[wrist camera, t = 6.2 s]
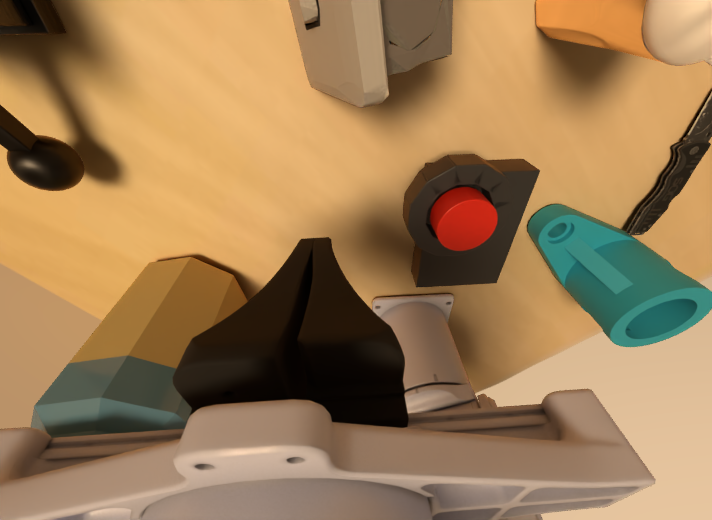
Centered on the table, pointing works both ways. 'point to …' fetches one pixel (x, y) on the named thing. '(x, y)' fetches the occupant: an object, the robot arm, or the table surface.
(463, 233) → the button
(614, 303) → the bracket
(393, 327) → the robot arm
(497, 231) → the control block
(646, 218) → the folding knife
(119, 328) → the jar
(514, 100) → the table surface
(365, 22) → the electrical switch
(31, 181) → the lever
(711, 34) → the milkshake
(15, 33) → the bracket
